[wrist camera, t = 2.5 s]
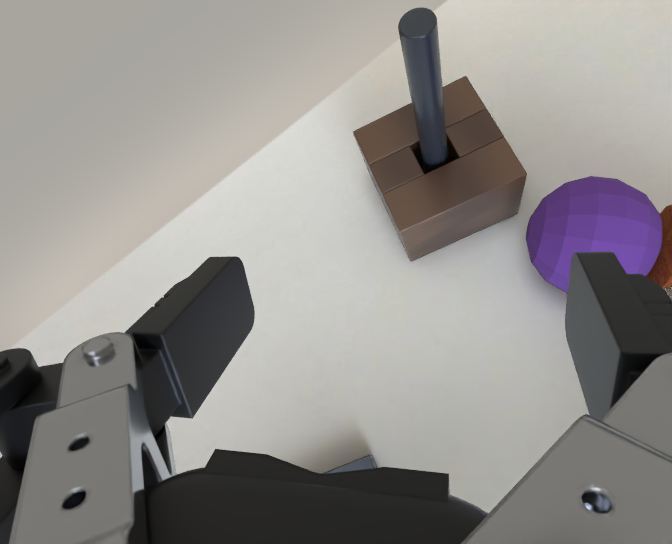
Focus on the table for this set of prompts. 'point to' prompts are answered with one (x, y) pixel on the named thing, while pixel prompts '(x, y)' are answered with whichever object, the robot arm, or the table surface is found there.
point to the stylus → (425, 84)
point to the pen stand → (443, 173)
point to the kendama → (600, 230)
